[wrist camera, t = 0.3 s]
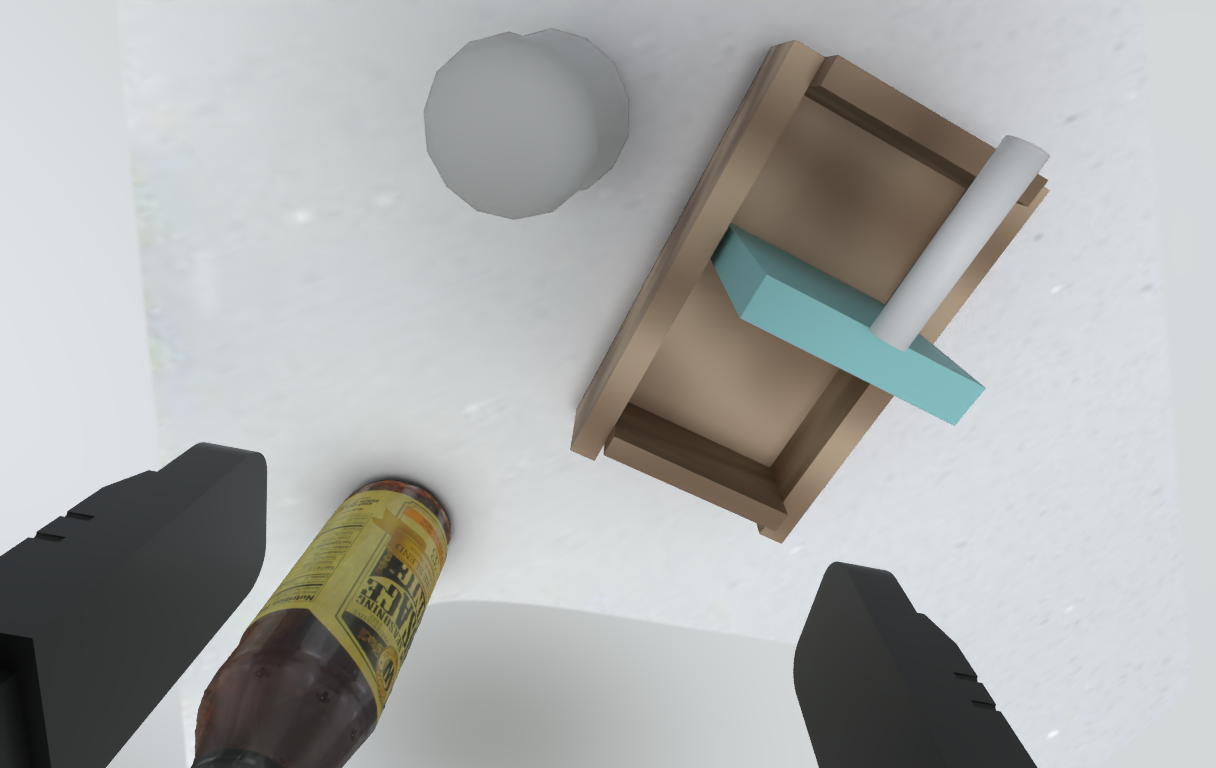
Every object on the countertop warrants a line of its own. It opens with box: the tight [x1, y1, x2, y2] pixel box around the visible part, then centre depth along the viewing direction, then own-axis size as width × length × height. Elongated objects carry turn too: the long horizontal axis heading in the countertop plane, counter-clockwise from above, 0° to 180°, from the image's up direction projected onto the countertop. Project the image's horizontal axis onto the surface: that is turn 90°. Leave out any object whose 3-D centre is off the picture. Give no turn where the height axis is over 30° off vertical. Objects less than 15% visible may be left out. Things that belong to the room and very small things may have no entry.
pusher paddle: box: [710, 135, 1050, 426], centre depth 22 cm, size 8×8×10 cm
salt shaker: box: [424, 28, 629, 219], centre depth 21 cm, size 6×6×13 cm
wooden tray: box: [570, 40, 1050, 544], centre depth 28 cm, size 18×11×6 cm, turn 153°
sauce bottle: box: [191, 480, 450, 768], centre depth 27 cm, size 7×6×20 cm
